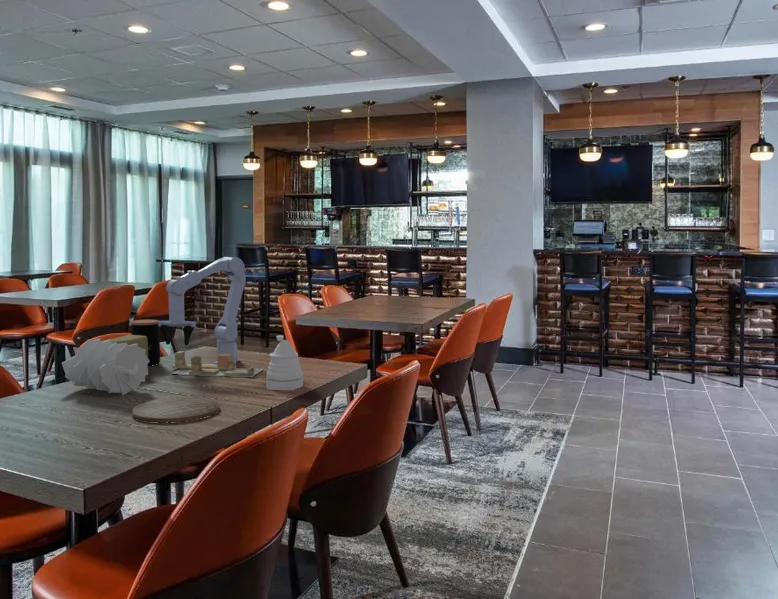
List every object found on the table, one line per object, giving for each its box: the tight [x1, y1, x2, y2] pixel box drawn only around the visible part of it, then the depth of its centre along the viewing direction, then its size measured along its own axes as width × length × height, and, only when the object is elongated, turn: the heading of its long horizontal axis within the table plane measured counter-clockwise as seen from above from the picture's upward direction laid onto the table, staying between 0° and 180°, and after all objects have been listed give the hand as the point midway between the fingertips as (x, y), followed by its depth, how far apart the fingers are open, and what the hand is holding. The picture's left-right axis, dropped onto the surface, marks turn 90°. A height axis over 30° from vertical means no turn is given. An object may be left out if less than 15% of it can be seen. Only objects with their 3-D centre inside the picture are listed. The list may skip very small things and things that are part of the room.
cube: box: [216, 354, 233, 367], centre depth 257 cm, size 4×4×4 cm
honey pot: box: [265, 334, 304, 390], centre depth 231 cm, size 13×13×18 cm
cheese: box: [100, 334, 149, 369], centre depth 242 cm, size 22×10×15 cm, turn 162°
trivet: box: [131, 396, 220, 423], centre depth 198 cm, size 25×25×2 cm
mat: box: [170, 367, 265, 378], centre depth 254 cm, size 14×32×1 cm, turn 83°
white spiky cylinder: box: [61, 338, 150, 396], centre depth 222 cm, size 18×18×25 cm
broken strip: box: [189, 355, 255, 376], centre depth 249 cm, size 5×24×6 cm, turn 83°
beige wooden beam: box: [172, 350, 237, 370], centre depth 258 cm, size 5×24×6 cm, turn 83°
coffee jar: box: [130, 319, 161, 367], centre depth 266 cm, size 11×11×18 cm
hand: (177, 344), depth 259 cm, fingers open, 7 cm apart
